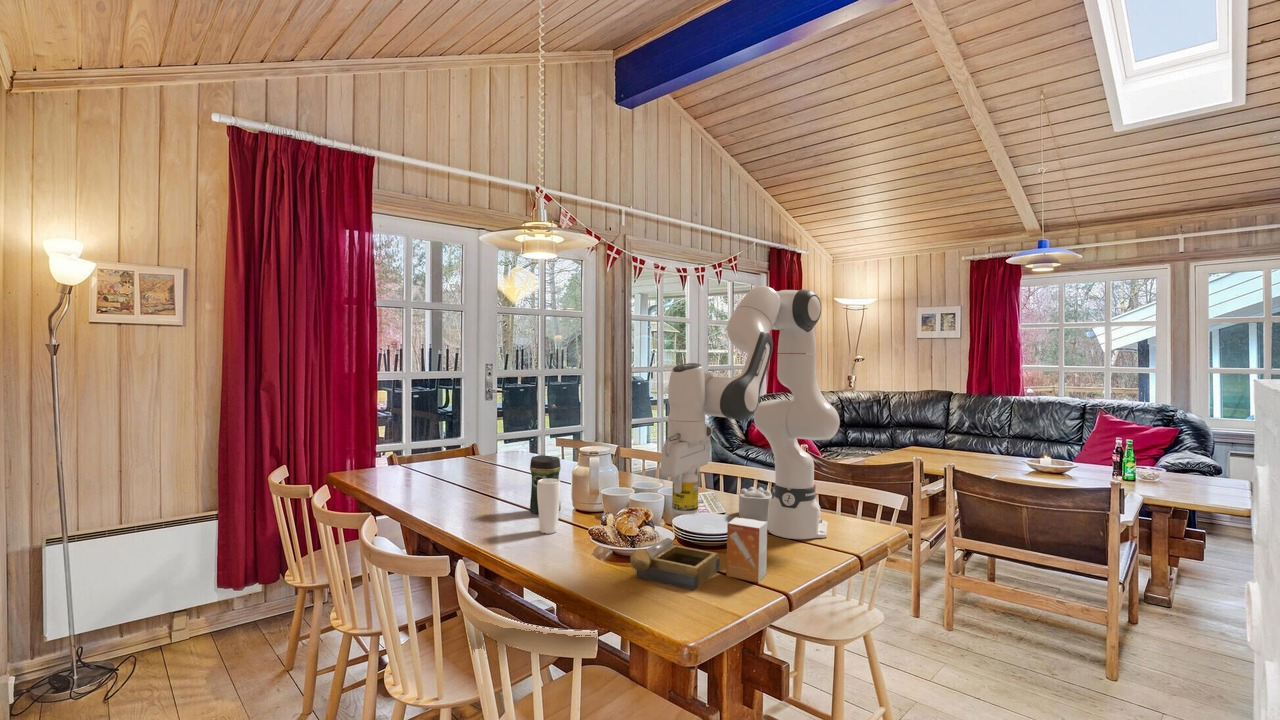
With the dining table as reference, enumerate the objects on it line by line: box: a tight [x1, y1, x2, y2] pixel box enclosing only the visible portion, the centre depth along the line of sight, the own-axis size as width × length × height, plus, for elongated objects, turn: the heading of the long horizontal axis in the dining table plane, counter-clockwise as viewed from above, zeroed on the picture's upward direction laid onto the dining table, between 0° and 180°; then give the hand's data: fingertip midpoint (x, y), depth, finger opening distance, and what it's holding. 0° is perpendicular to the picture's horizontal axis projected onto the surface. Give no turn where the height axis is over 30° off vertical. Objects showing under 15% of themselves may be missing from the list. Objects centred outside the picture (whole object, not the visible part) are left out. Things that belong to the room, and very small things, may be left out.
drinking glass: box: [537, 478, 562, 535], centre depth 182 cm, size 7×7×15 cm
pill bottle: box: [671, 466, 699, 515], centre depth 148 cm, size 6×6×11 cm
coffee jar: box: [529, 454, 562, 515], centre depth 202 cm, size 10×8×19 cm
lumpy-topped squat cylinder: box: [738, 486, 773, 522], centre depth 201 cm, size 10×13×9 cm
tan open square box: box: [629, 537, 721, 591], centre depth 149 cm, size 16×16×7 cm
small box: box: [725, 516, 768, 583], centre depth 148 cm, size 8×6×13 cm
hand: (685, 489), depth 148 cm, fingers closed on pill bottle, 6 cm apart
